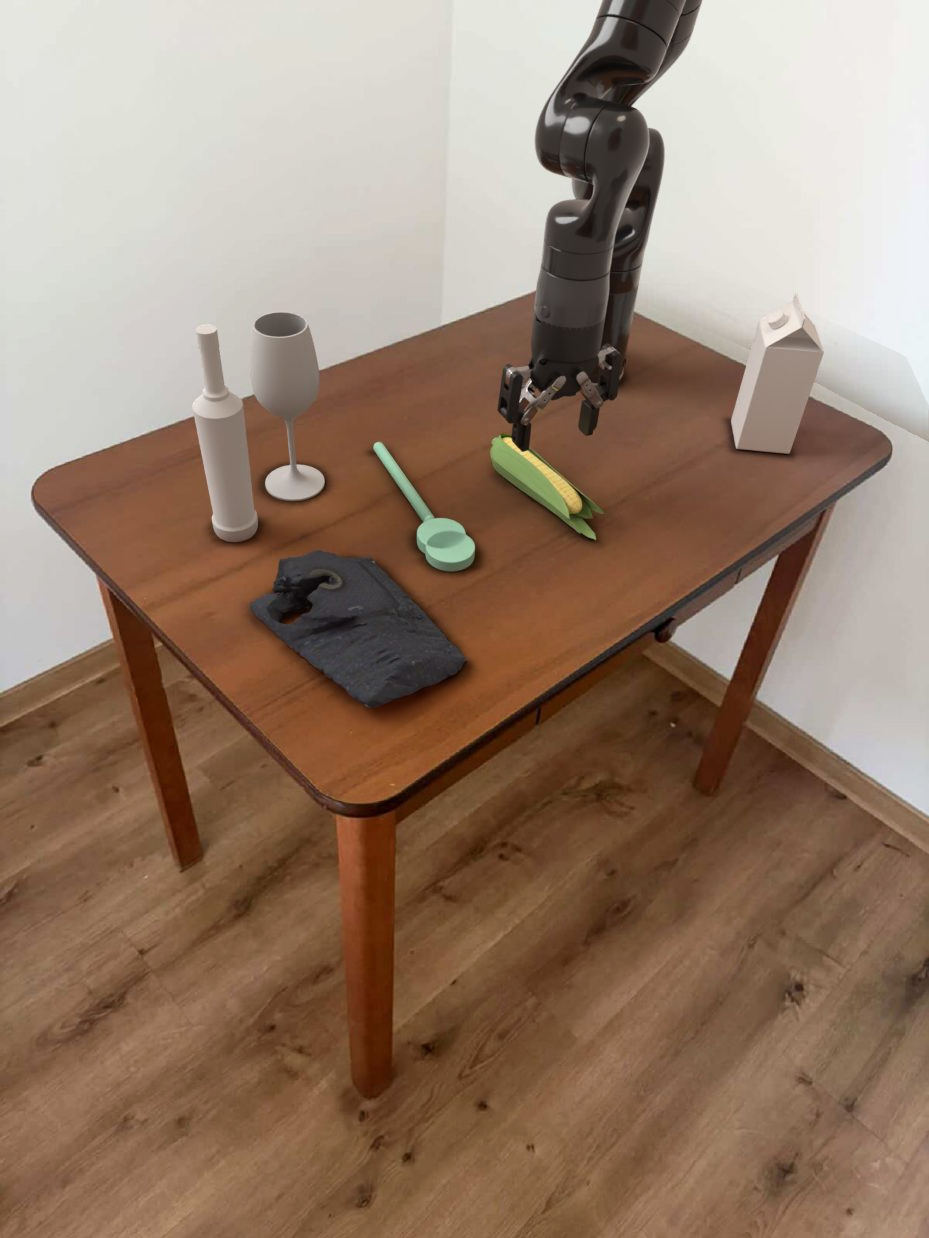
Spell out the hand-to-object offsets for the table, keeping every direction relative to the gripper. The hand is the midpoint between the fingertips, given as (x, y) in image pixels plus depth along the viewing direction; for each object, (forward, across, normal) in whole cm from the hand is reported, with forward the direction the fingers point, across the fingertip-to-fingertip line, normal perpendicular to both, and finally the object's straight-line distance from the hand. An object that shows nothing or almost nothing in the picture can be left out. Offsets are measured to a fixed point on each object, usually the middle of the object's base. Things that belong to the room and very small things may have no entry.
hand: (553, 440), depth 112 cm
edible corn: (+9, 0, 0) cm, 9 cm away
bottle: (+9, +36, -9) cm, 38 cm away
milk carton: (+9, -34, -1) cm, 35 cm away
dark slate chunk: (+9, +30, +13) cm, 33 cm away
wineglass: (+9, +27, -15) cm, 32 cm away
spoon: (+9, +15, -5) cm, 18 cm away
